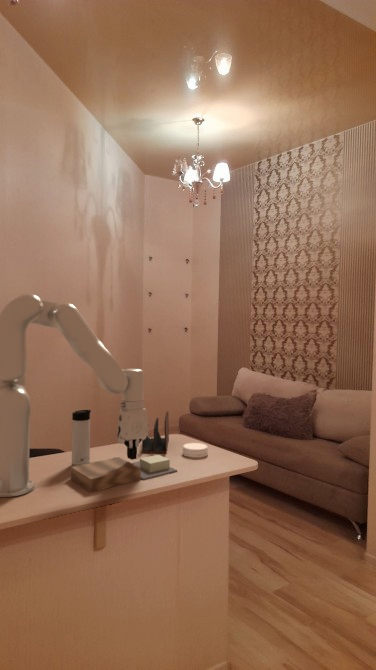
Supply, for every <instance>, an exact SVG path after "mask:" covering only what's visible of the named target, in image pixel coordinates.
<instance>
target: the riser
mask: <svg viewBox="0 0 376 670" xmlns="http://www.w3.org/2000/svg"><path fill="white" fill-rule="evenodd" d="M132 463H133V462H130V461H128V460H126V459H124V458H121V457H119V456H117V457H112V458H107V459H103V460H99V461H94V462H90V463H88V464H83V465H78V466H70V480H72V481H73V482H75V483H76V484H78V485H79V486H80V487H82V488H83V489H86V490H87V491H88V492H90V493H92V492H96V491H100V490H104V489H108V488H111V487H112V488H113V487H116V486H120V485H124V484H130V483H132V482H137V481H140V480H142V479H141V467H139V466H137V465H134V464H132Z"/></svg>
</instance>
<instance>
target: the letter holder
mask: <svg viewBox="0 0 376 670" xmlns="http://www.w3.org/2000/svg"><path fill="white" fill-rule="evenodd" d="M169 424H170V422H169V411H168V410H167V411H166V412H165V416H164V437H161V435H160V431H159V417H157V418H156V419H155V421H154V425H153V437H149V435H148V436H147V437H146V439H144V440H142V441H141V442H142V443H141V454H150V453H155V455H165V454H166V455H167V454H168V453H167V452H168V447H169V440H170V434H169V431H170V429H169V428H170V427H169ZM150 438H151V439H150Z"/></svg>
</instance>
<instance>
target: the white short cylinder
mask: <svg viewBox="0 0 376 670" xmlns="http://www.w3.org/2000/svg"><path fill="white" fill-rule="evenodd" d="M208 449H209V447H208V445H207V444H205V443H200V442H188V443H185V444H183V445H182V455H183V456H184V457H188V458H191V459H192V458H193V459H199V458H200V459H201V458H205V457H207V456H208V454H209V452H208V451H209V450H208Z"/></svg>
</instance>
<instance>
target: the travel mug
mask: <svg viewBox="0 0 376 670" xmlns="http://www.w3.org/2000/svg"><path fill="white" fill-rule="evenodd" d="M91 412H92V410H91V409H81V410H75V411H74V412H72V416H71V417H72V418H71V467H73V466H78V465H83V464H88V463H91V462H90V456H91V455H90V454H91V453H90V452H91V451H90V449H91V447H90V446H91V440H90V439H91Z"/></svg>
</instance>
